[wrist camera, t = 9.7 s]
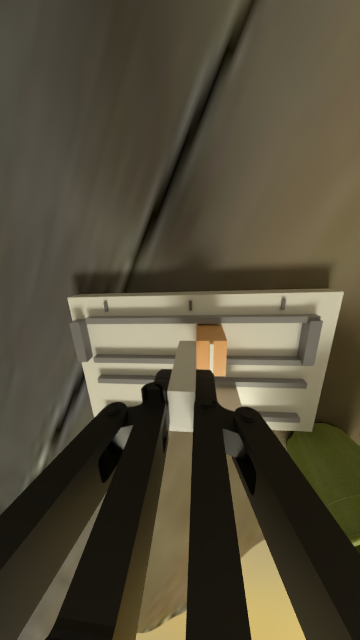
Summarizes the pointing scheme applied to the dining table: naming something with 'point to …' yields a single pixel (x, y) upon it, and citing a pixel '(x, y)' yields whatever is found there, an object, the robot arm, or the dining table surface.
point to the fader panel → (242, 346)
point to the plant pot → (331, 472)
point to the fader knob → (211, 348)
